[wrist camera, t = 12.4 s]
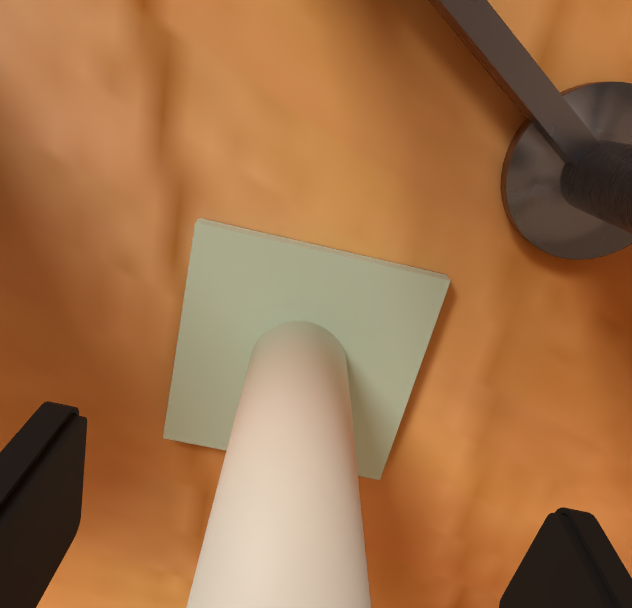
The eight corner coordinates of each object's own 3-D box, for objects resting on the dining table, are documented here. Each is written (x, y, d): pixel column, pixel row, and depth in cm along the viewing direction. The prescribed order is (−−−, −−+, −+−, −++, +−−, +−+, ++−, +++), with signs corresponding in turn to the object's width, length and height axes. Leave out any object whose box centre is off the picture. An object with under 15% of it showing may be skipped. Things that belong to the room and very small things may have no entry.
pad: (446, 274, 17) (450, 281, 16) (377, 469, 20) (379, 480, 19) (199, 217, 16) (195, 222, 16) (167, 427, 19) (162, 438, 19)
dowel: (357, 332, 17) (403, 624, 8) (333, 413, 18) (348, 751, 9) (260, 311, 17) (186, 587, 7) (242, 395, 18) (160, 723, 9)
